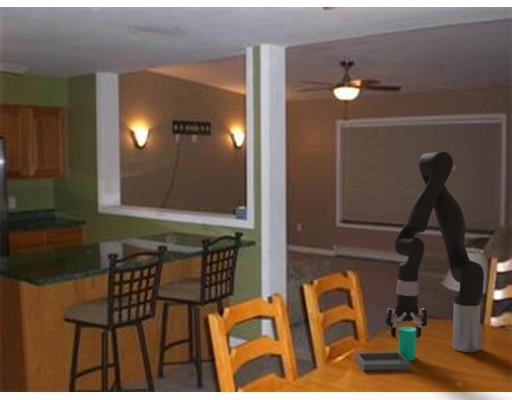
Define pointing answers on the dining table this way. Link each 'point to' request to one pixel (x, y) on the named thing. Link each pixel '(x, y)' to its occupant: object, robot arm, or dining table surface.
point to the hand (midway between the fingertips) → (405, 337)
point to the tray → (382, 361)
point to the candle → (407, 342)
